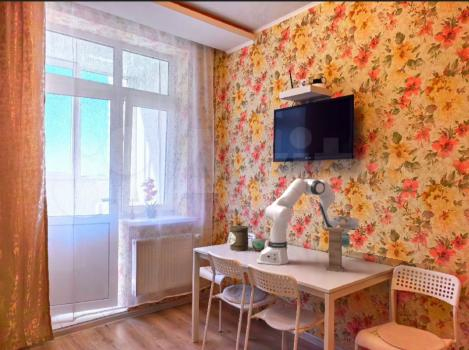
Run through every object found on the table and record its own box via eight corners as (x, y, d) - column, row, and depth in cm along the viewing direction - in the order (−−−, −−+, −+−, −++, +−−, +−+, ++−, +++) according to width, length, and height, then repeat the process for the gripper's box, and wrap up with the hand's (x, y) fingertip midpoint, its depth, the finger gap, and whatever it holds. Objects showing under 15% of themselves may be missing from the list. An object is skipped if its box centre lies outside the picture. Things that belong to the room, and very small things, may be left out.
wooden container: (229, 247, 276) (229, 221, 276) (247, 246, 277) (246, 220, 277) (231, 251, 261) (230, 223, 261) (249, 250, 262) (249, 223, 262)
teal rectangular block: (338, 215, 236) (336, 218, 230) (348, 216, 233) (346, 219, 226) (339, 242, 239) (337, 246, 233) (349, 243, 236) (348, 246, 230)
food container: (253, 252, 256) (253, 239, 256) (251, 251, 262) (250, 238, 262) (268, 251, 259) (268, 238, 259) (265, 250, 265) (265, 237, 265)
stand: (328, 267, 214) (328, 227, 215) (344, 269, 210) (344, 228, 210) (326, 269, 208) (326, 228, 208) (342, 271, 204) (342, 229, 204)
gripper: (331, 219, 248) (327, 212, 237) (360, 221, 238) (357, 213, 228) (330, 227, 245) (326, 220, 234) (359, 229, 235) (357, 222, 225)
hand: (342, 217), depth 231 cm, fingers closed on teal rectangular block, 3 cm apart
